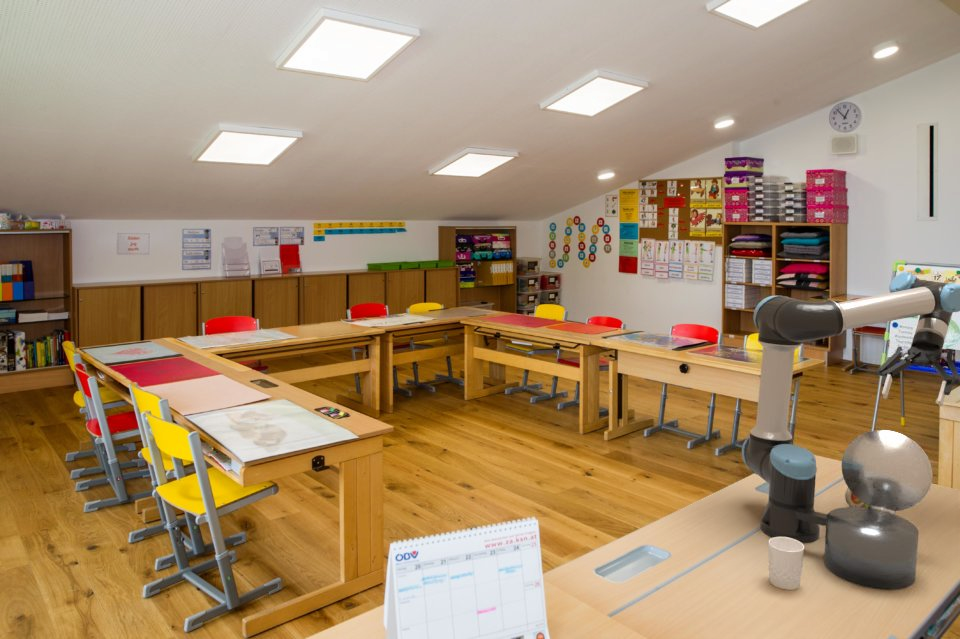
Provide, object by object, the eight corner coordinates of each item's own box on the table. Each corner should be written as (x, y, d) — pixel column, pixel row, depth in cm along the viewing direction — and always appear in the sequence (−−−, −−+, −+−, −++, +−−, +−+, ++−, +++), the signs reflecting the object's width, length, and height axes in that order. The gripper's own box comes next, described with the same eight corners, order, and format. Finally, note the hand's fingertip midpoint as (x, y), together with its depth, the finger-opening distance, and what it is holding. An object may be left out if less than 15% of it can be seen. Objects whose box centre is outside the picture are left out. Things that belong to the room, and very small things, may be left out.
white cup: (786, 594, 166) (788, 554, 165) (759, 579, 173) (761, 541, 172) (809, 586, 170) (811, 546, 169) (781, 572, 177) (783, 534, 176)
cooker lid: (845, 424, 190) (849, 423, 194) (837, 503, 190) (841, 500, 194) (935, 438, 177) (938, 437, 180) (926, 523, 177) (929, 520, 181)
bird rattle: (862, 520, 211) (881, 503, 214) (853, 489, 207) (873, 473, 210) (843, 512, 216) (863, 496, 219) (834, 483, 213) (854, 466, 216)
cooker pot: (782, 562, 181) (785, 518, 180) (806, 535, 197) (808, 494, 195) (906, 598, 164) (910, 549, 162) (921, 565, 179) (925, 520, 177)
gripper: (983, 349, 197) (966, 414, 189) (884, 341, 215) (865, 399, 207) (979, 333, 193) (962, 399, 185) (879, 326, 211) (859, 386, 203)
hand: (911, 399), depth 196 cm, fingers open, 13 cm apart
